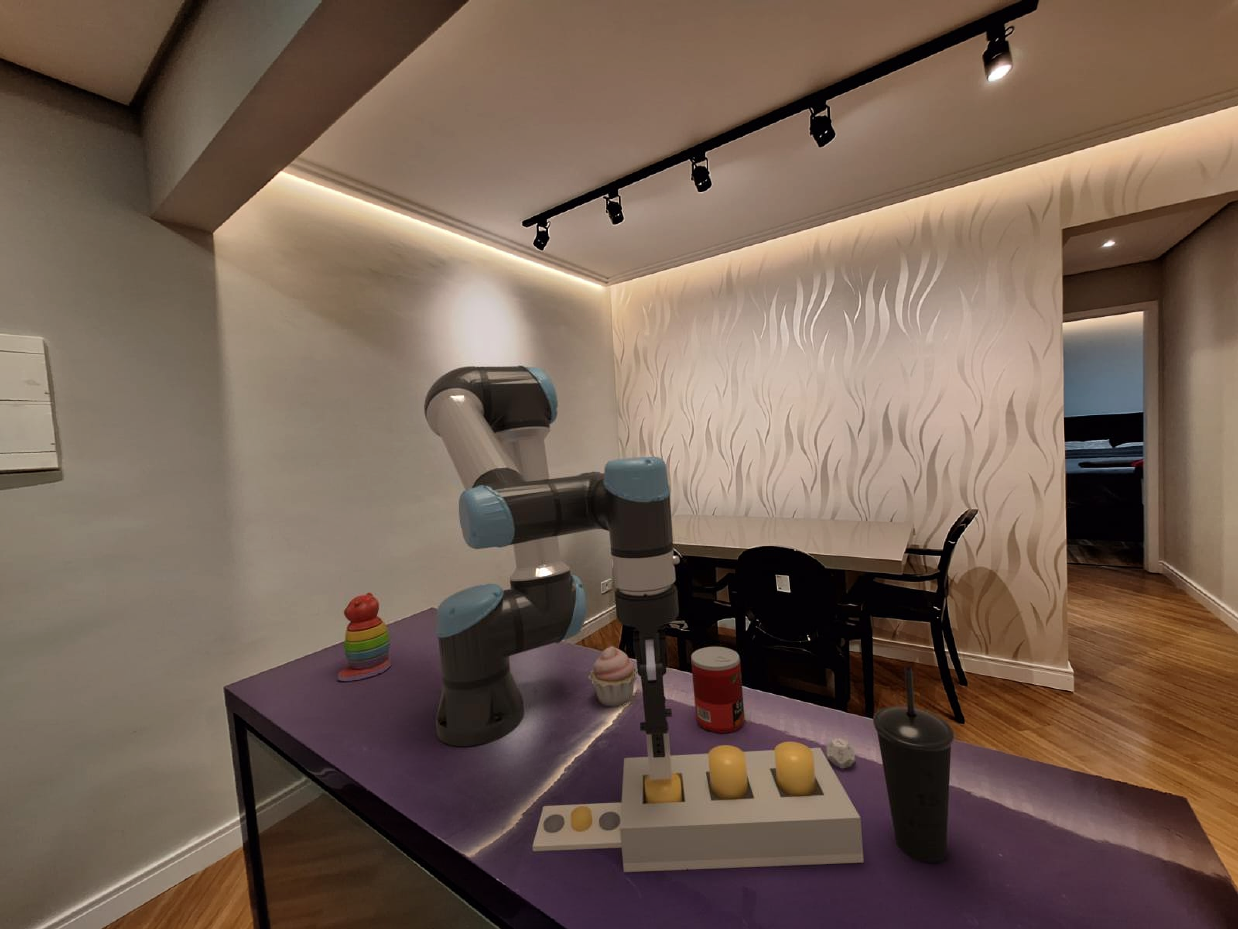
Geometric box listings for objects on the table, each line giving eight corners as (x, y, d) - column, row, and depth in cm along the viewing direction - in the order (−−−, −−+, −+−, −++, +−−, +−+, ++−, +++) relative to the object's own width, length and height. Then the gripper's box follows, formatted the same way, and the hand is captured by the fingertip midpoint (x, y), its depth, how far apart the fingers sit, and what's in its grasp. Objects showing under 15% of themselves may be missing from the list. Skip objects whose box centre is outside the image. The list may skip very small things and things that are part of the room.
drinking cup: (866, 823, 57) (855, 657, 57) (927, 813, 58) (916, 649, 57) (910, 880, 50) (898, 690, 49) (980, 868, 50) (968, 680, 50)
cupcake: (630, 715, 85) (625, 659, 84) (582, 709, 88) (577, 655, 88) (647, 688, 93) (643, 637, 93) (603, 683, 97) (598, 634, 97)
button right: (782, 799, 56) (780, 766, 56) (772, 773, 61) (770, 742, 61) (821, 797, 56) (818, 764, 56) (808, 772, 61) (806, 740, 60)
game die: (839, 775, 66) (837, 753, 66) (821, 758, 70) (820, 738, 69) (861, 769, 67) (859, 747, 67) (843, 752, 70) (841, 732, 70)
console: (623, 872, 54) (619, 828, 54) (627, 794, 66) (624, 758, 66) (863, 862, 52) (860, 817, 52) (822, 784, 64) (820, 747, 64)
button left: (647, 828, 57) (644, 796, 57) (647, 801, 62) (644, 771, 62) (684, 827, 57) (682, 794, 57) (681, 799, 62) (679, 769, 61)
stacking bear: (364, 660, 119) (356, 589, 118) (402, 659, 118) (394, 587, 117) (332, 682, 108) (323, 604, 108) (374, 681, 107) (365, 602, 106)
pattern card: (533, 851, 58) (531, 836, 58) (544, 810, 64) (542, 797, 64) (625, 847, 57) (623, 832, 57) (627, 806, 63) (625, 793, 63)
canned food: (746, 735, 76) (740, 666, 76) (695, 733, 78) (689, 666, 78) (743, 708, 84) (738, 646, 83) (697, 707, 85) (691, 646, 85)
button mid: (713, 803, 57) (710, 769, 57) (708, 777, 61) (706, 746, 61) (751, 801, 57) (748, 767, 56) (743, 775, 61) (741, 744, 61)
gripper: (680, 601, 52) (697, 814, 53) (673, 569, 65) (686, 740, 66) (610, 606, 52) (628, 817, 53) (617, 572, 65) (631, 743, 66)
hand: (660, 774), depth 59 cm, fingers closed
